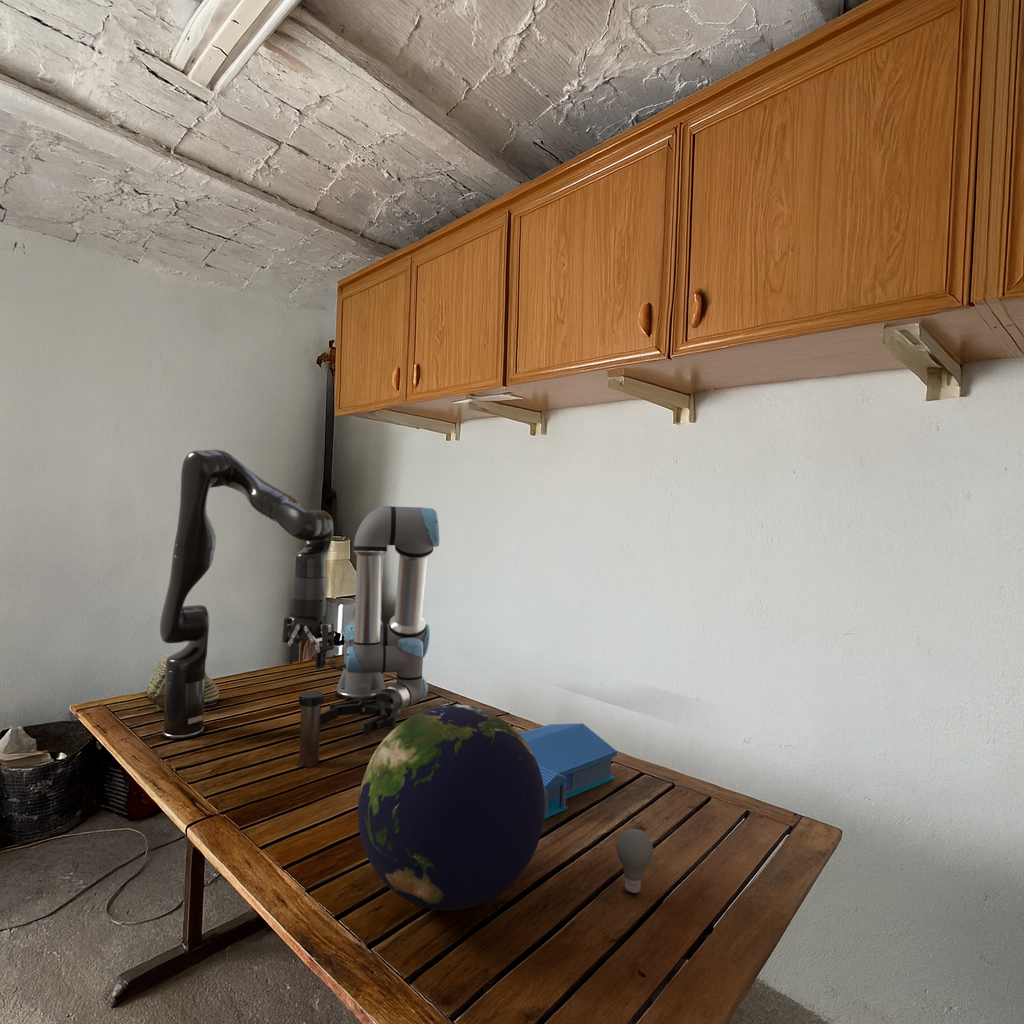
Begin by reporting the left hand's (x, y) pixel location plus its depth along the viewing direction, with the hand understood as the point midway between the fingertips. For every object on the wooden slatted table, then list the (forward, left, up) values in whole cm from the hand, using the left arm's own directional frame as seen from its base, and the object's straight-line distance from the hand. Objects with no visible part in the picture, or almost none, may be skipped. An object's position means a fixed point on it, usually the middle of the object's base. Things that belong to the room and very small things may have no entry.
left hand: (306, 664), depth 148 cm
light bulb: (+78, +21, -24) cm, 85 cm away
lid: (-1, +2, -8) cm, 8 cm away
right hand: (-4, +12, -18) cm, 22 cm away
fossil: (-59, -9, -24) cm, 64 cm away
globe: (+60, -3, -24) cm, 64 cm away
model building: (+41, +34, -24) cm, 58 cm away
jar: (-1, +2, -24) cm, 24 cm away
